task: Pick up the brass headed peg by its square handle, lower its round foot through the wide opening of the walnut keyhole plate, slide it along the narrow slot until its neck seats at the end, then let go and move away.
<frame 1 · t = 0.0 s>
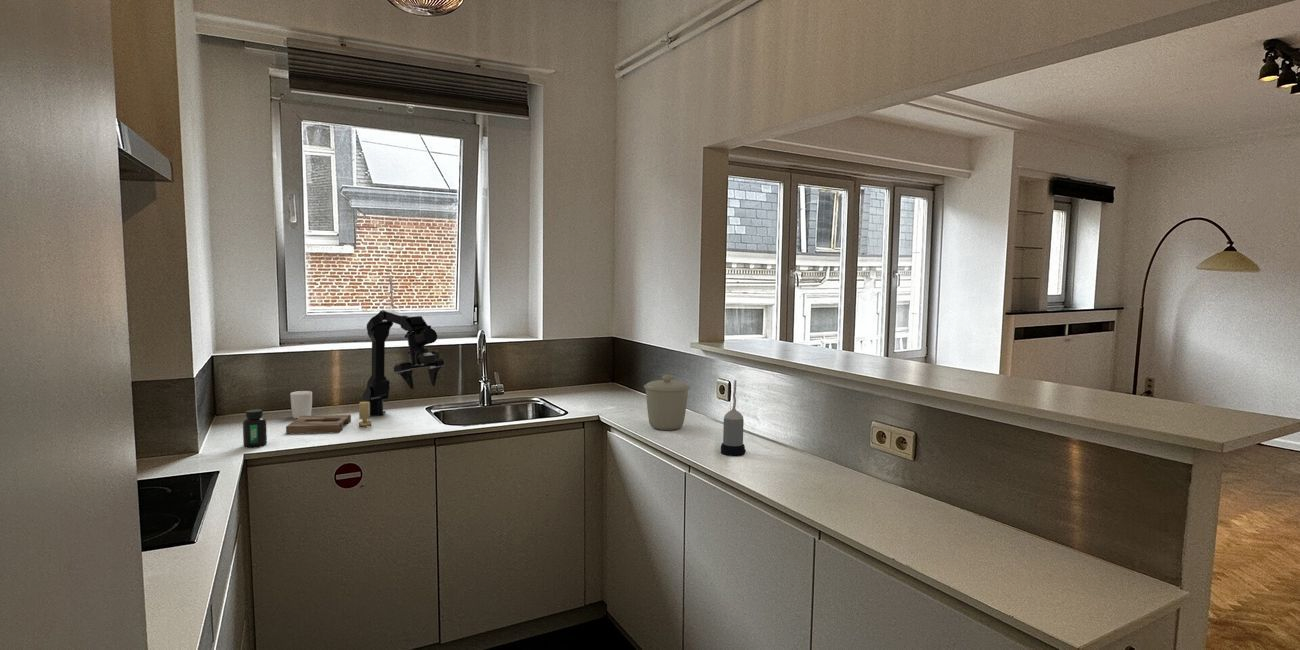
hand: (423, 387, 250), 15 cm above the worktop, tool pointing down, fingers open, 9 cm apart
white cup: (302, 417, 266), on the worktop
keyhole plate: (319, 427, 249), on the worktop
canister: (666, 427, 258), on the worktop
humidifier: (732, 453, 222), on the worktop
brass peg: (364, 426, 252), on the worktop
supplement bottle: (255, 446, 223), on the worktop
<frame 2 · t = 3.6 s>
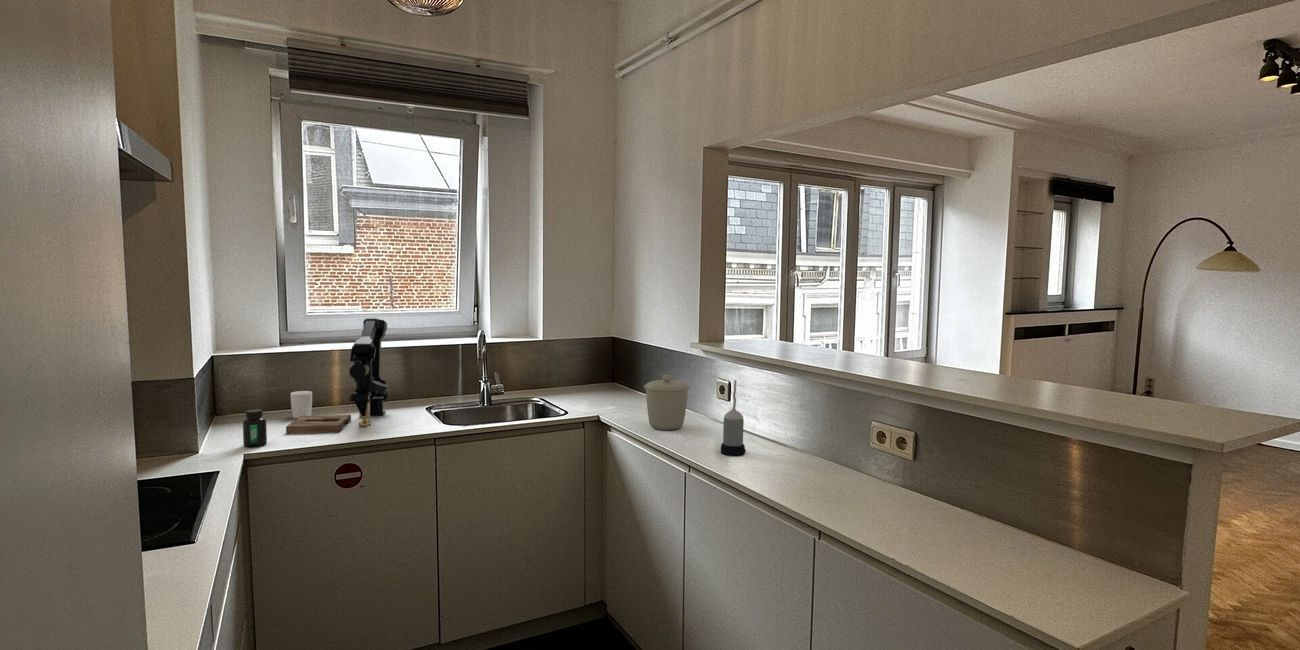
hand: (364, 415, 252), 4 cm above the worktop, tool pointing down, fingers closed on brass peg, 3 cm apart
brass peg: (364, 426, 252), on the worktop, touching gripper
everything else where it was.
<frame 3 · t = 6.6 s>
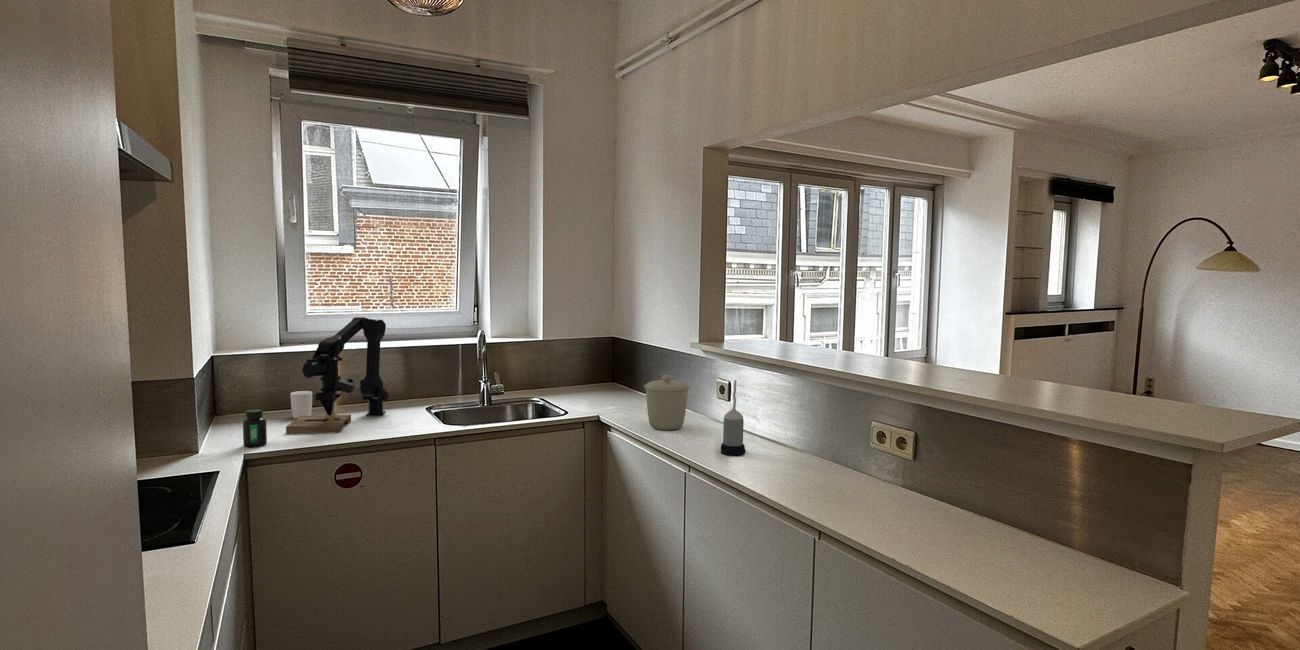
hand: (331, 414, 249), 5 cm above the worktop, tool pointing down, fingers closed on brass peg, 3 cm apart
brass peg: (331, 425, 250), point 1 cm above the worktop, touching gripper
everything else where it was.
when the fingers open (4 cm above the worktop, at t = 9.7 s): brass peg stays where it is, resting in keyhole plate.
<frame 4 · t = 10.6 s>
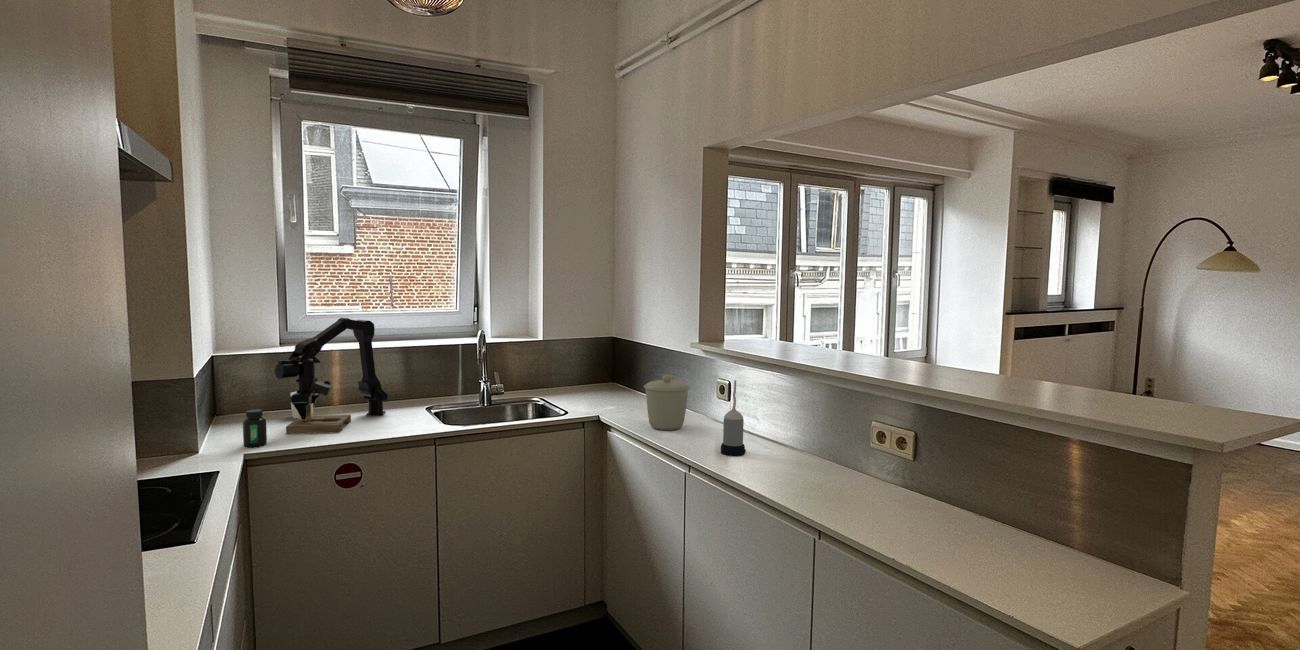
hand: (307, 416, 248), 4 cm above the worktop, tool pointing down, fingers open, 9 cm apart
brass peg: (308, 427, 248), resting in keyhole plate
everything else where it was.
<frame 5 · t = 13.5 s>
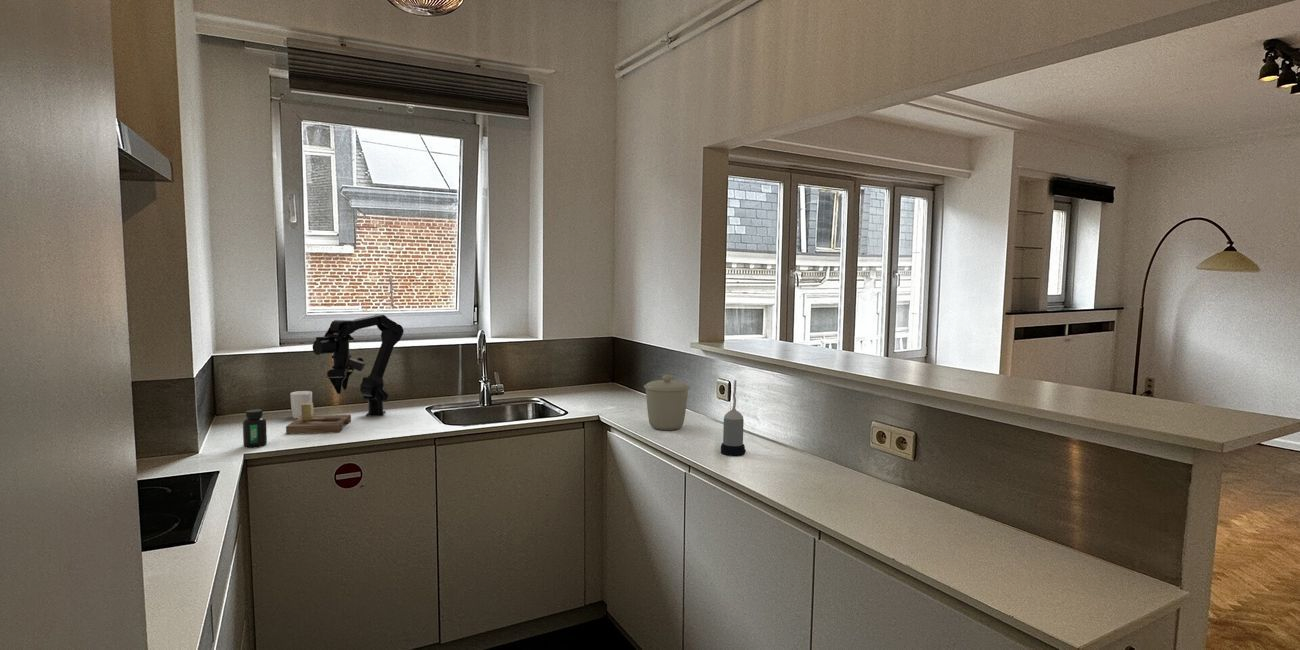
hand: (342, 391, 258), 12 cm above the worktop, tool pointing down, fingers open, 9 cm apart
nothing on the worktop moved.
at the end: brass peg 0.0 cm from the target spot on the keyhole plate, point 0.0 cm above the keyhole plate's base; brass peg tilted 0°; the gripper is holding nothing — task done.
